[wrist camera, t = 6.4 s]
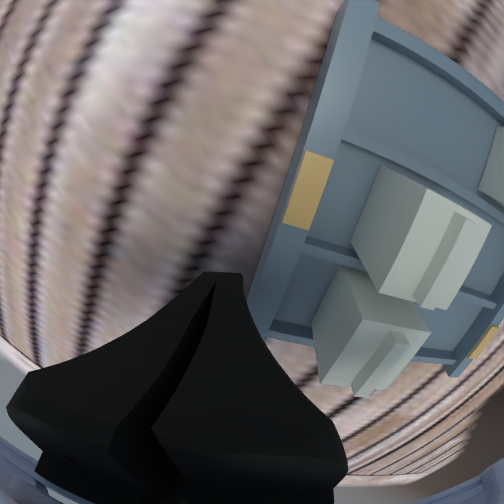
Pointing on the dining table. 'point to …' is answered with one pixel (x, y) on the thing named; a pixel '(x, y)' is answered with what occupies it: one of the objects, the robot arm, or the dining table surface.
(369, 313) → the tab
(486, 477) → the robot arm
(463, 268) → the tab
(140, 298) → the dining table surface
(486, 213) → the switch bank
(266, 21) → the dining table surface
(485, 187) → the tab
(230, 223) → the dining table surface
